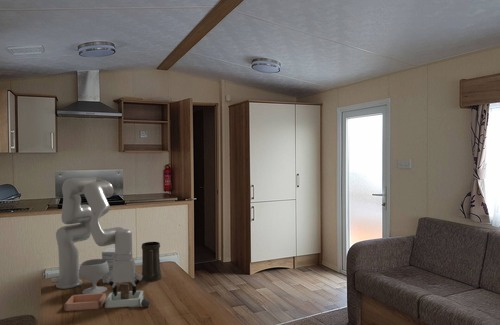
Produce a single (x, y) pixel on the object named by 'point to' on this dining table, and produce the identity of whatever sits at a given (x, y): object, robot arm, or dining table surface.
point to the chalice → (94, 274)
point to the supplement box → (108, 261)
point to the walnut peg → (125, 291)
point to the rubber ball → (145, 302)
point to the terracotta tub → (85, 301)
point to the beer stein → (151, 261)
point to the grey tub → (124, 300)
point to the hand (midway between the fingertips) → (124, 294)
